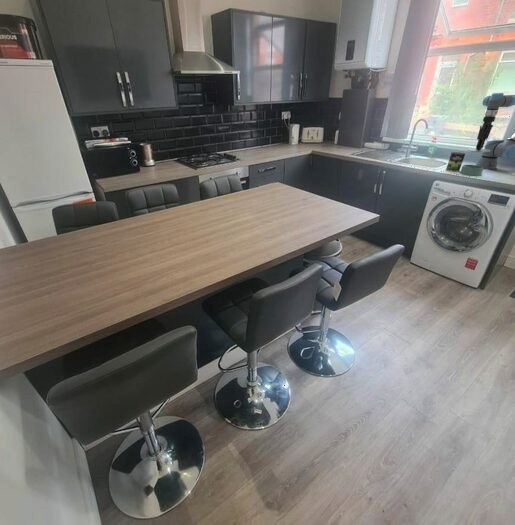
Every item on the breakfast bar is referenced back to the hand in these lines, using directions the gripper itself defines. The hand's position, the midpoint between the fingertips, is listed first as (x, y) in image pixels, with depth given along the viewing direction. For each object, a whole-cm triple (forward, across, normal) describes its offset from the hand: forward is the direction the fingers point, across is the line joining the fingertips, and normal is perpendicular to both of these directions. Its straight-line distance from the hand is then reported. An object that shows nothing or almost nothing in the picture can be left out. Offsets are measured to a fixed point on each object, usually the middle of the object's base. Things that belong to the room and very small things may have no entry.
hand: (479, 148), depth 237 cm
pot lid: (+2, 0, 0) cm, 2 cm away
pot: (+19, -6, -4) cm, 20 cm away
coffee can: (+19, -7, +12) cm, 23 cm away
